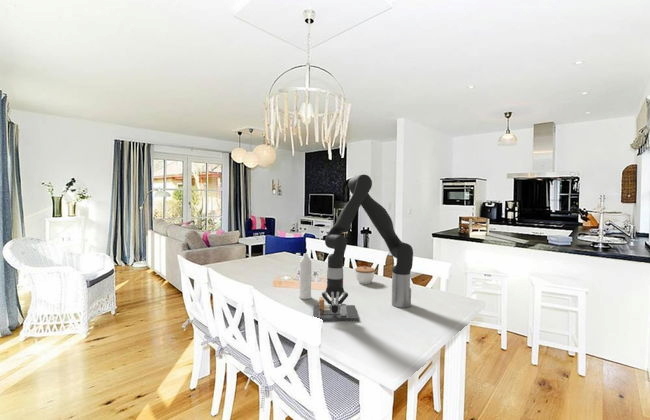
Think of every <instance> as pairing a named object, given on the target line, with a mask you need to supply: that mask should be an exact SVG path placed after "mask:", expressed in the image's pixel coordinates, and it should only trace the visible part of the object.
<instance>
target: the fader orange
mask: <svg viewBox="0 0 650 420" xmlns="http://www.w3.org/2000/svg"><path fill="white" fill-rule="evenodd" d="M318 299H319V301H318V305H319V309H324V305H325V299H324V298H323V296H322V297H320V296H319V298H318Z"/></svg>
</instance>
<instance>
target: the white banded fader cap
mask: <svg viewBox="0 0 650 420" xmlns="http://www.w3.org/2000/svg"><path fill="white" fill-rule="evenodd" d="M339 305H340V313H341V316H346V305H347V303H346V302H343V303H342V304H339Z"/></svg>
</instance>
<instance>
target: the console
mask: <svg viewBox="0 0 650 420" xmlns="http://www.w3.org/2000/svg"><path fill="white" fill-rule="evenodd" d="M312 311H313V313H312V317H313V316H314V317H317V318H320V319H322V320H323V321H322V322H359V320H360V319H359V315H358V312H357V311H358V310H357V308H356V305H355V304H354V305H353V304H346V316H341V313H340V304H339V305H338V312H336V313H333V312H332V305H331V304H324V309H319V304H313V310H312Z"/></svg>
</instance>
